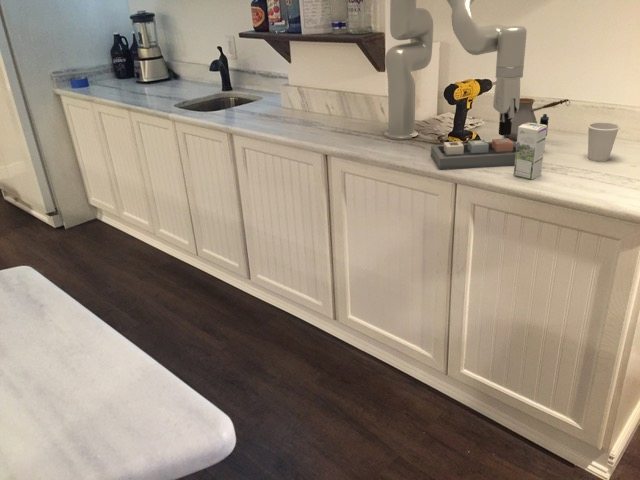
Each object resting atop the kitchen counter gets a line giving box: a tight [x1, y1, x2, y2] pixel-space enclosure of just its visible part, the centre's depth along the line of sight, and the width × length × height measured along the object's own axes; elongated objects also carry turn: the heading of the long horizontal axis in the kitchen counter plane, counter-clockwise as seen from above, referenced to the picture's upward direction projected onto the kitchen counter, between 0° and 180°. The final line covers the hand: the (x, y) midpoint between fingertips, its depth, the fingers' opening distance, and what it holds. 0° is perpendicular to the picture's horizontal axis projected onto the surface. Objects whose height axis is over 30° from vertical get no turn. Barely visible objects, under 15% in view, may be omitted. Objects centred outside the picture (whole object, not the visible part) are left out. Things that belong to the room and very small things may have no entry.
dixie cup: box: [587, 121, 621, 162], centre depth 160 cm, size 8×8×10 cm
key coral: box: [491, 137, 514, 152], centre depth 166 cm, size 5×5×2 cm
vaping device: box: [539, 113, 549, 148], centre depth 169 cm, size 3×5×12 cm, turn 53°
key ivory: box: [443, 141, 464, 155], centre depth 166 cm, size 5×5×2 cm
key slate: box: [467, 139, 489, 153], centre depth 166 cm, size 5×5×2 cm
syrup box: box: [513, 123, 548, 181], centre depth 150 cm, size 6×6×14 cm
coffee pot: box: [506, 97, 571, 141], centre depth 179 cm, size 21×12×15 cm, turn 38°
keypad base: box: [430, 140, 517, 171], centre depth 167 cm, size 14×26×4 cm, turn 90°
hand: (504, 134), depth 164 cm, fingers closed
